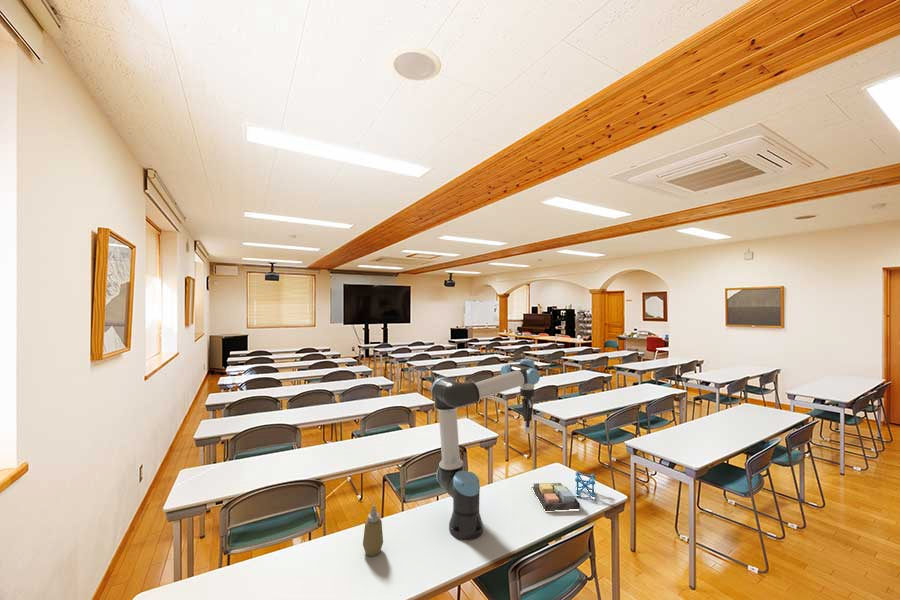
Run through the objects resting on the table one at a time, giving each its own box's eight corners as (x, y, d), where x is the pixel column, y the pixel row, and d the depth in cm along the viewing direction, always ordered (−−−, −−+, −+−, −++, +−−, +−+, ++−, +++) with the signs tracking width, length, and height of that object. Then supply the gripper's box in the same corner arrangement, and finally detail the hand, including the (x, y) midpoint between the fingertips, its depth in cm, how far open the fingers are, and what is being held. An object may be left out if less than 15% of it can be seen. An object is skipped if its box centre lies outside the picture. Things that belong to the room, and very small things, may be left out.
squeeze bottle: (360, 548, 148) (361, 503, 148) (380, 543, 151) (381, 499, 151) (364, 560, 140) (365, 513, 141) (385, 555, 143) (385, 508, 144)
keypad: (545, 512, 176) (545, 504, 176) (531, 489, 199) (531, 482, 199) (579, 511, 177) (579, 503, 177) (562, 488, 200) (561, 481, 200)
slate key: (563, 502, 178) (563, 496, 178) (559, 496, 184) (559, 490, 184) (574, 502, 179) (574, 495, 179) (570, 496, 184) (570, 490, 184)
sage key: (557, 496, 186) (557, 491, 186) (553, 491, 192) (553, 485, 192) (568, 496, 186) (568, 490, 187) (564, 491, 192) (564, 485, 192)
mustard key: (542, 494, 186) (542, 488, 186) (539, 489, 191) (539, 483, 191) (553, 494, 186) (553, 488, 186) (549, 489, 192) (549, 483, 192)
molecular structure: (595, 492, 196) (595, 473, 197) (595, 501, 187) (595, 481, 187) (575, 489, 200) (575, 470, 200) (574, 497, 191) (574, 478, 191)
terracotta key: (547, 505, 178) (547, 499, 178) (544, 499, 183) (544, 493, 183) (558, 505, 178) (558, 499, 178) (554, 499, 184) (554, 493, 184)
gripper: (537, 390, 189) (537, 436, 188) (530, 385, 202) (530, 428, 201) (523, 390, 189) (523, 436, 188) (517, 385, 202) (517, 428, 201)
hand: (527, 432), depth 195 cm, fingers closed
